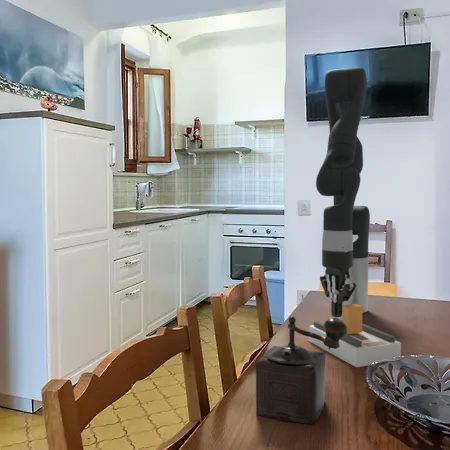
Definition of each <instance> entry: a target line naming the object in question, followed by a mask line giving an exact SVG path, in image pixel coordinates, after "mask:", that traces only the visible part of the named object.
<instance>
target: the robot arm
mask: <svg viewBox="0 0 450 450" xmlns="http://www.w3.org/2000/svg"><path fill="white" fill-rule="evenodd" d="M367 80H368V79H367V73H366V70H365V69H364V68H363V67H356V66H355V67H346V68H335V69H329V70H328V71H327V72H326V73H325V76H324V93H325V102H326V109H327V110H326V111H327V117H328V127H329V136H328V141H327V150H326V155H325V158H324V161H323V162H322V165H321V167H320V168H319V170H318V173H317V176H316V179H315V187H316V190H317V192H318V193H319V194H320V195H321V196H322V197H323V196H324V197H333V205H330V206H327V207H325V208H324V210H323V214H322V215H323V223H322V224H323V225H322V227H323V229H322V231H323V232H322V239H321V240H322V241H321V242H322V243H321V248H322V249H321V265H322V267H323V268H325V271H324V275H321V276H319V280H320V283H321V286H322V289H323V292H324V294H325V297H326V298H329V301H330V303H331V305H330V307H331V308H330V309H331V310H330V311H331V313H330V314H331V316H332V317H333V318H342V306H343V305H352V304H358V305H361V306H363V310H362V314H364V313H367V312H368V308H369V307H368V305H369V304H368V303H369V300H368V299H369V235H370V233H369V232H370V222H371V221H370V219H371V218H370V217H371V216H370V213H371V211H370V210H369V209H370V208H369V207H368V206H366V205H355V202H356V198H357V195H358V192H359V188H360V185H361V175H360V174H361V173H362V171H363V167H364V157H363V156H364V154H363V153H364V152H363V144H362V142H361V141H360V139H359V137H358V129H359V125H360V122H361V118H362V114H363V109H364V105H365V101H366V98H367V97H366V96H367V90H368V81H367ZM340 104H350V105H348V107H347V109H346V110H345V112H344V113H342V110H341V106H340ZM354 236H357V239H355V241H354Z"/></svg>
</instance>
